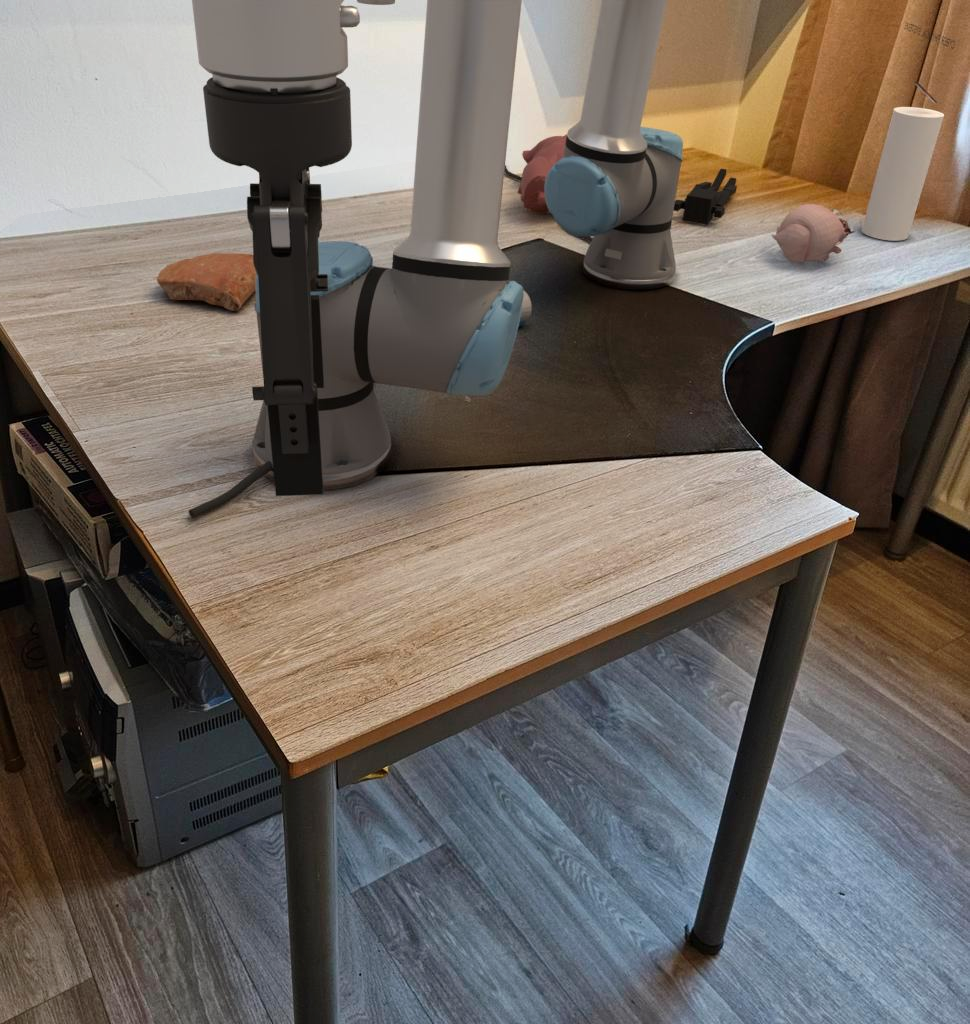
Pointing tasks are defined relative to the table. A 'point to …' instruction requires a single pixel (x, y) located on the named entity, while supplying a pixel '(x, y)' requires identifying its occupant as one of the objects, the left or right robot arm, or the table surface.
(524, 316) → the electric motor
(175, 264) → the ceramic shard
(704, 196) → the toy
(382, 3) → the tin
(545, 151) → the pink toy pig
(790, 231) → the toy
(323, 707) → the table surface
